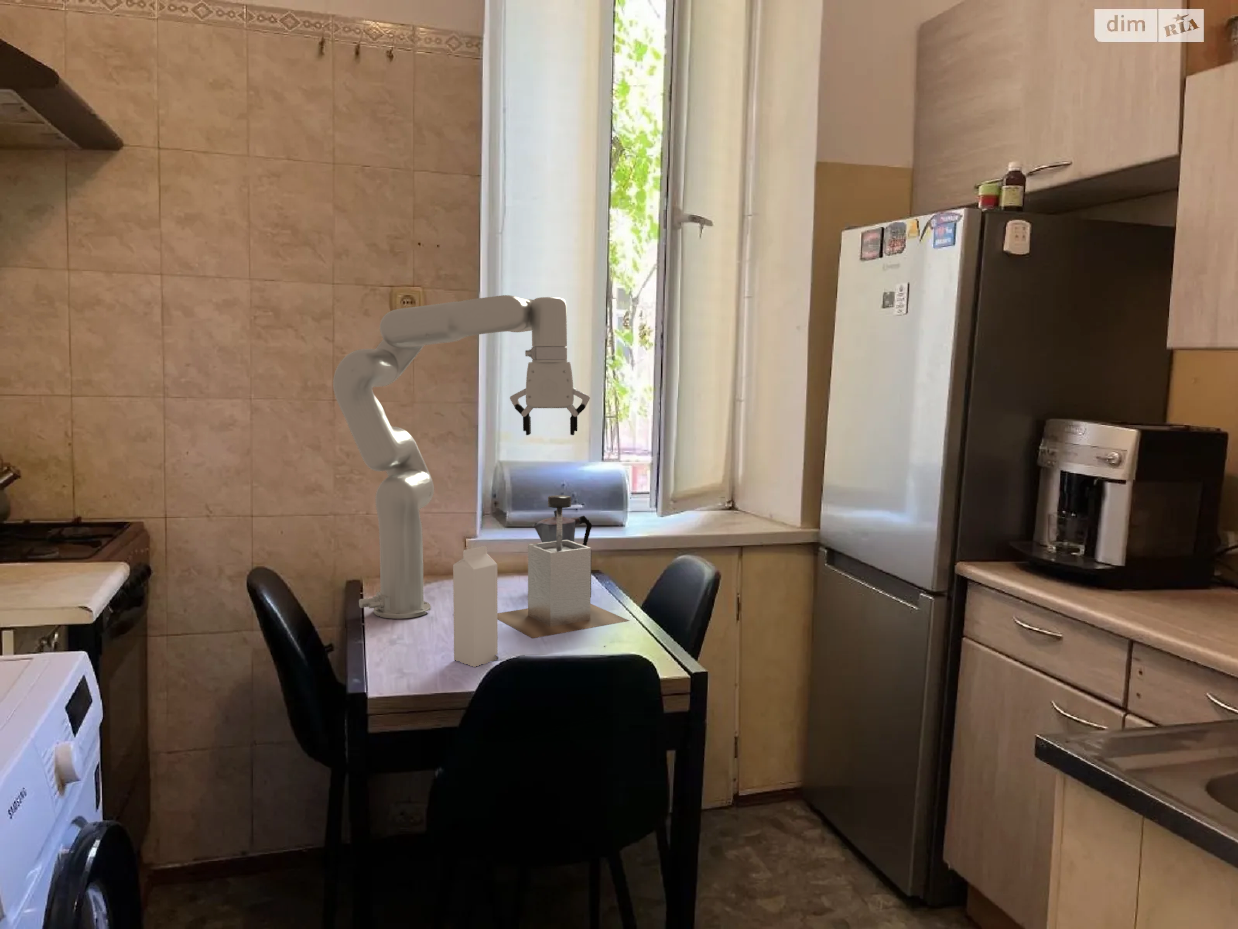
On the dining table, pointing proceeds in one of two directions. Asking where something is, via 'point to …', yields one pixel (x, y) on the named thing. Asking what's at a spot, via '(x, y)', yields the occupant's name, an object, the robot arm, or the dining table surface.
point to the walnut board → (539, 629)
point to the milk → (475, 608)
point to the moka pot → (549, 528)
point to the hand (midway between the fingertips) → (550, 434)
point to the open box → (559, 583)
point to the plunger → (559, 518)
